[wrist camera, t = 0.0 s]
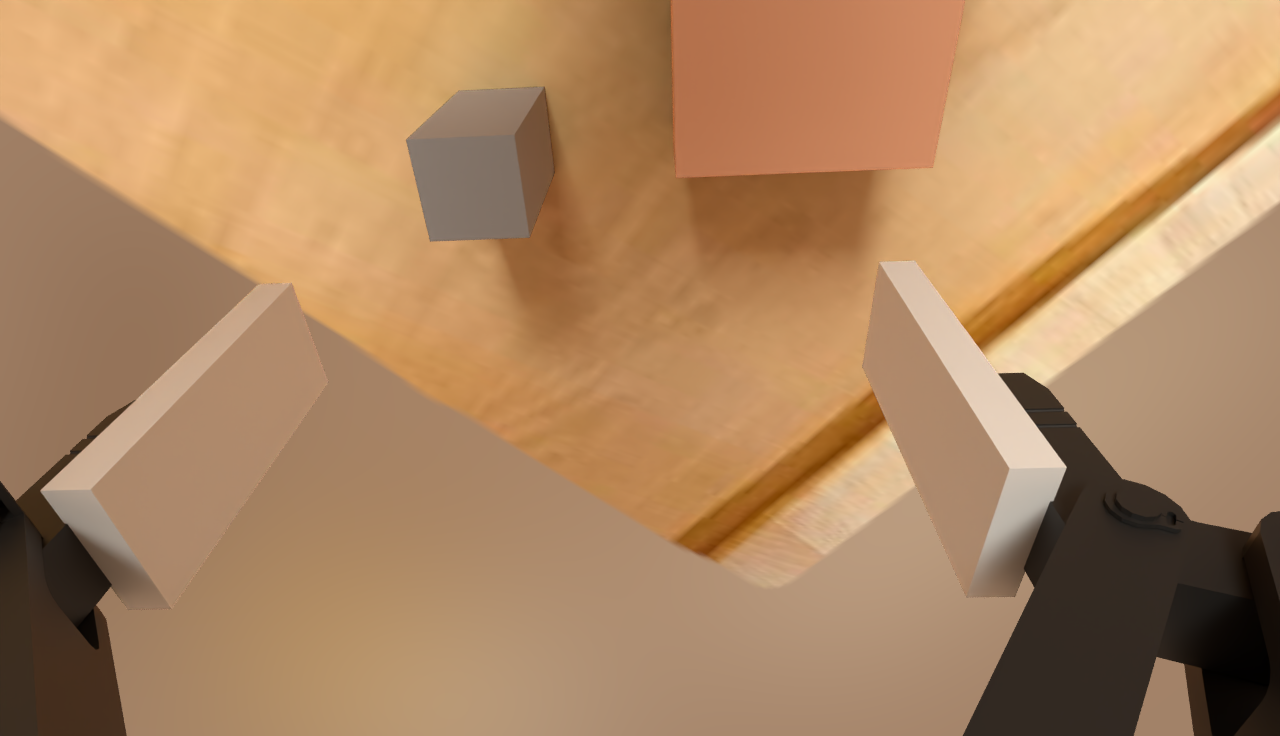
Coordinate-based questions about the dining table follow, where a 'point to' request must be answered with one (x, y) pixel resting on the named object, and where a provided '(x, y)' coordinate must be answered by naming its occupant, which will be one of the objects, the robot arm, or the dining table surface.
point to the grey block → (484, 164)
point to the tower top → (809, 84)
